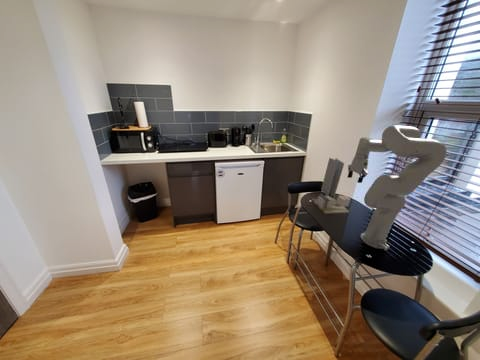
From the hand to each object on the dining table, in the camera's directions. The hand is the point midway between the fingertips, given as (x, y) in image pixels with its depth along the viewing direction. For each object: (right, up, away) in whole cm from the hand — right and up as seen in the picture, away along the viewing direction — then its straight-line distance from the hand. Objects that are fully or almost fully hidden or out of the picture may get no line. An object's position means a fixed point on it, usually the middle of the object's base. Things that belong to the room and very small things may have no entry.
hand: (354, 179), depth 132 cm
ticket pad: (-17, -19, +8) cm, 27 cm away
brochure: (-5, -12, +29) cm, 32 cm away
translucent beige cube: (-3, -19, +11) cm, 22 cm away
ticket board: (-13, -20, +9) cm, 26 cm away
